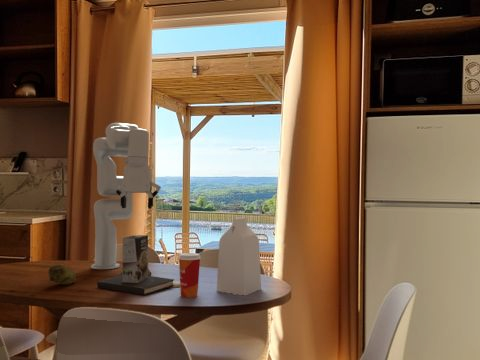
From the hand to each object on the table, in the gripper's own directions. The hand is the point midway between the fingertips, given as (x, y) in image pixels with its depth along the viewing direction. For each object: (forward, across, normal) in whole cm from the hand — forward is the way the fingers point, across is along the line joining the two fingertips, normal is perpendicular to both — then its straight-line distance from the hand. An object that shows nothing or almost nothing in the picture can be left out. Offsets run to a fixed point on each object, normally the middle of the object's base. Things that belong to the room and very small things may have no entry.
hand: (136, 208), depth 157 cm
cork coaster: (+29, +15, +3) cm, 33 cm away
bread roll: (+30, -5, +17) cm, 35 cm away
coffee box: (+27, 0, -1) cm, 27 cm away
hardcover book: (+29, +1, -1) cm, 29 cm away
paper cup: (+29, +22, -13) cm, 38 cm away
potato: (+30, -27, +2) cm, 40 cm away
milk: (+29, +39, -4) cm, 48 cm away
